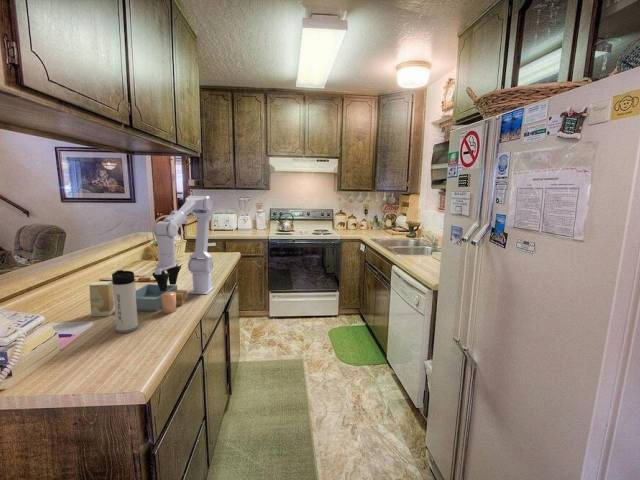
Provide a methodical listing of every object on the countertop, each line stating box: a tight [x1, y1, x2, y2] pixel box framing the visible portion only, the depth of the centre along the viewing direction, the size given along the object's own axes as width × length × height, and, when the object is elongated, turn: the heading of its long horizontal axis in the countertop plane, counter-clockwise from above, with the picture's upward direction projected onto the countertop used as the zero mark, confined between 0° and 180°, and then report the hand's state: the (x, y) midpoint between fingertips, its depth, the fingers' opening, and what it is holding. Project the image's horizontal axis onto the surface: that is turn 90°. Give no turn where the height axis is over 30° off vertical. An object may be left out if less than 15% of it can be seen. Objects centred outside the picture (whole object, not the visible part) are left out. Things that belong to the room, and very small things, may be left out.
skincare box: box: [88, 280, 115, 317], centre depth 114 cm, size 6×4×12 cm
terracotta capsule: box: [161, 292, 178, 314], centre depth 119 cm, size 5×5×7 cm
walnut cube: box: [173, 289, 189, 307], centre depth 127 cm, size 5×5×5 cm
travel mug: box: [111, 269, 139, 334], centre depth 102 cm, size 6×7×20 cm
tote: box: [135, 283, 178, 312], centre depth 127 cm, size 17×13×5 cm
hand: (168, 287), depth 118 cm, fingers open, 7 cm apart
